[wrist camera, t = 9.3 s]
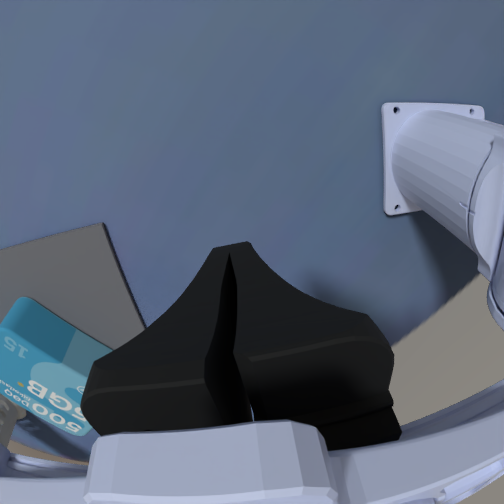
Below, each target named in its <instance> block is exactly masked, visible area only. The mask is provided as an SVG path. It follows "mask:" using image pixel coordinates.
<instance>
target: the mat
mask: <svg viewBox="0 0 504 504" xmlns="http://www.w3.org/2000/svg"><path fill="white" fill-rule="evenodd" d="M20 297H28V298H31V299H33V300H35V301H36V302H38V303H39V304H40V305H42V306H43V307H45V308H46V309H48V310H49V311H51V312H52V313H54V314H55V315H57V316H58V317H60V318H61V319H63V320H64V321H66V322H67V323H69V324H71V325H72V326H74V327H75V328H77V329H78V330H80V331H82V332H83V333H85V334H87V335H88V336H90V337H92V338H93V339H95V340H97V341H98V342H100V343H102V344H103V345H105V346H107V347H109V348H110V349H112V350H115V349H117V348H119V347H120V346H122V345H124V344H125V343H127V342H128V341H130V340H131V339H133V338H134V337H136V336H137V335H138V334H140V333H141V332H142V331H144V330H145V329H146V328H145V326H144V324H143V322H142V319H141V317H140V315H139V313H138V310H137V308H136V306H135V304H134V301H133V299H132V297H131V294H130V292H129V289H128V287H127V285H126V282H125V280H124V277H123V275H122V272H121V270H120V267H119V265H118V262H117V260H116V257H115V254H114V252H113V249H112V246H111V244H110V241H109V238H108V235H107V233H106V230H105V227H104V224H103V223H98V224H94V225H90V226H86V227H82V228H78V229H74V230H70V231H66V232H62V233H58V234H55V235H51V236H47V237H43V238H40V239H36V240H32V241H29V242H25V243H22V244H18V245H15V246H11V247H8V248H4V249H1V250H0V324H1V322H2V321H3V319H4V318H5V316H6V315H7V313H8V312H9V310H10V309H11V308H12V306H13V305H14V303H15V302H16V300H17V299H18V298H20Z"/></svg>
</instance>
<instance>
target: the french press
mask: <svg viewBox="0 0 504 504" xmlns="http://www.w3.org/2000/svg"><path fill="white" fill-rule="evenodd" d="M25 416H26V409H24V408H23V407H21V406H19V405H18V404H16V403H15V402H13V401H11V400H10V399H8V398H7V397H5V396H4V395H2V394H1V393H0V443H1V444H2V445H4V446H5V447H6V448H7V446H8V443H9V440H10V438H11V435H12V432H13V429H14V426H15V424H16V421H17V419H22V418H24V417H25ZM1 424H3V425H1Z"/></svg>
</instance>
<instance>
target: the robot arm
mask: <svg viewBox="0 0 504 504" xmlns="http://www.w3.org/2000/svg"><path fill="white" fill-rule="evenodd" d="M394 107H396V108H397V112H396V113H394V111H393V109H394ZM470 109H471V113H470ZM381 114H382V131H383V158H384V211H385V213H386V214H388V215H396V214H402V213H408V212H415V211H421V210H423V211H425V212H426V213H427V214H429V215H430V216H431V217H432V218H434V219H435V220H436V221H437V222H439V223H440V224H441V225H442V226H444V227H445V228H446V229H447V230H449V231H450V232H451V233H452V234H453V235H455V236H456V237H457V238H458V239H459V240H461V241H462V242H463V243H464V244H465V245H467V246H468V247H469V248H470V249H471V250H472V251H473V252H475V253H476V254H477V256H478V271H479V272H480V273H481V274H482V275H484V276H485V277H486V278H487V279H488V280H489V281H490V284H489V287H488V291H487V304H488V307H489V310H490V312H491V315H492V316H493V318H494V319H495V321H496V322H497V324H498V325H499V326H500V327H501V328H502V330H503V331H504V126H503V125H500V124H497V123H494V122H490V121H487V120H484V109H483V108H482V107H481V106H477V105H463V104H446V103H385V104H383V106H382V108H381ZM396 205H398V208H397V209H395V206H396ZM393 367H394V354H393V351H392V349H391V347H390V345H389V343H388V341H387V339H386V338H385V336H384V335H383V333H382V332H381V331H380V330H379V328H378V327H377V326H376V324H375V323H374V322H373V321H372V319H371V318H370V317H369V316H368V315H367V314H363V313H359V312H355V311H351V310H347V309H343V308H339V307H336V306H333V305H331V304H328V303H325V302H322V301H320V300H318V299H315V298H313V297H311V296H309V295H307V294H305V293H303V292H301V291H300V290H298V289H296V288H295V287H293V286H292V285H290V284H289V283H288V282H286V281H285V280H284V279H282V278H281V277H280V276H279V275H277V274H276V273H275V272H274V271H273V270H272V269H271V268H270V267H269V266H268V265H267V264H266V263H265V262H264V261H263V260H262V259H261V258H260V257H259V255H258V254H257V253H256V251H255V250H254V249H253V247H252V245H251V243H249V242H248V241H246V242H241V243H236V244H231V245H226V246H221V247H216V248H213V249H212V251H211V252H210V254H209V255H208V257H207V259H206V260H205V262H204V264H203V265H202V267H201V269H200V270H199V272H198V273H197V275H196V276H195V278H194V279H193V281H192V282H191V283H190V285H189V286H188V287H187V288H186V290H185V291H184V292H183V294H182V295H181V296H180V297H179V298H178V299H177V301H176V302H175V303H174V304H173V305H172V306H171V307H170V308H169V309H168V310H167V311H166V312H165V313H164V314H163V315H161V316H160V317H159V318H158V319H157V320H156V321H154V322H153V323H152V324H151V325H150V326H149V327H148V328H146V329H145V330H144V331H142V332H141V333H140V334H138V335H137V336H136V337H134V338H133V339H131V340H130V341H128V342H127V343H125V344H124V345H122V346H120V347H119V348H117V349H115V350H113V351H112V352H110V353H108V354H106V355H105V356H103V357H101V358H99V359H97V360H95V361H94V362H93V365H92V367H91V370H90V373H89V376H88V379H87V382H86V385H85V389H84V392H83V395H82V398H81V404H80V408H81V411H82V414H83V416H84V417H85V419H86V420H87V421H88V423H89V424H90V425H91V426H92V427H93V428H94V429H95V430H96V431H97V432H98V433H99V434H100V435H101V437H98V439H97V440H96V442H95V443H94V445H93V446H92V451H91V455H90V460H89V466H87V465H78V464H69V463H63V462H56V461H50V460H44V459H38V458H33V457H28V456H24V455H19V454H14V453H10V451H9V450H8V449H7V448H6V447H5V446H4V445H2V444H1V443H0V504H456V503H458V502H460V501H462V500H463V499H465V498H467V497H469V496H470V495H472V494H474V493H475V492H477V491H479V490H480V489H482V488H483V487H485V486H487V485H488V484H490V483H492V482H493V481H495V480H496V479H498V478H499V477H501V476H502V475H504V379H503V380H501V381H499V382H497V383H496V384H494V385H492V386H490V387H488V388H486V389H484V390H483V391H481V392H479V393H477V394H475V395H473V396H471V397H469V398H467V399H465V400H462V401H460V402H458V403H456V404H454V405H452V406H449V407H448V408H445V409H443V410H440V411H438V412H436V413H433V414H431V415H428V416H426V417H423V418H421V419H418V420H416V421H413V422H411V423H408V424H405V425H402V426H400V425H399V423H398V420H397V418H396V416H395V413H394V411H393V409H392V406H393V399H392V397H391V394H390V392H389V390H388V389H389V384H390V380H391V376H392V371H393ZM250 404H251V405H250ZM251 407H252V410H253V413H254V421H253V419H252V412H251Z"/></svg>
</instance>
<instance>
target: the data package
mask: <svg viewBox="0 0 504 504" xmlns="http://www.w3.org/2000/svg"><path fill="white" fill-rule="evenodd" d="M112 351H113V350H112V349H110V348H109V347H107V346H105V345H103V344H102V343H100V342H98V341H97V340H95V339H93V338H92V337H90V336H88V335H87V334H85V333H83V332H82V331H80V330H78V329H77V328H75V327H74V326H72V325H71V324H69V323H67V322H66V321H64V320H63V319H61V318H60V317H58V316H57V315H55V314H54V313H52V312H51V311H49V310H48V309H46V308H45V307H43V306H42V305H40V304H39V303H38V302H36V301H35V300H33V299H31V298H28V297H20V298H18V299H17V300H16V302H15V303H14V305H13V306H12V308H11V309H10V310H9V312H8V313H7V315H6V316H5V318H4V319H3V321H2V322H1V324H0V393H1V394H2V395H4V396H5V397H7V398H8V399H10V400H11V401H13V402H15V403H16V404H18V405H19V406H21V407H23V408H24V409H26V410H28V411H29V412H31V413H33V414H35V415H36V416H38V417H40V418H42V419H43V420H45V421H47V422H49V423H51V424H53V425H55V426H57V427H59V428H60V429H62V430H64V431H66V432H68V433H71V434H73V435H78V436H83V435H86V434H87V433H88V432H89V431H90V430H91V429H92V428H93V427H92V426H91V425H90V424H89V423H88V421H87V420H86V419H85V417H84V416H83V414H82V411H81V408H80V404H81V398H82V395H83V392H84V389H85V385H86V382H87V379H88V376H89V373H90V370H91V367H92V365H93V362H94V361H95V360H97V359H99V358H101V357H103V356H105V355H106V354H108V353H110V352H112Z"/></svg>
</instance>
